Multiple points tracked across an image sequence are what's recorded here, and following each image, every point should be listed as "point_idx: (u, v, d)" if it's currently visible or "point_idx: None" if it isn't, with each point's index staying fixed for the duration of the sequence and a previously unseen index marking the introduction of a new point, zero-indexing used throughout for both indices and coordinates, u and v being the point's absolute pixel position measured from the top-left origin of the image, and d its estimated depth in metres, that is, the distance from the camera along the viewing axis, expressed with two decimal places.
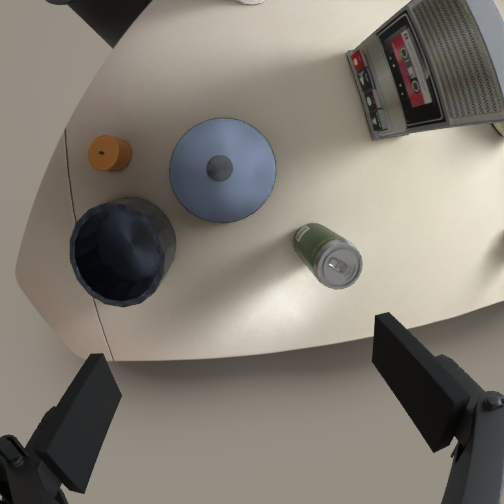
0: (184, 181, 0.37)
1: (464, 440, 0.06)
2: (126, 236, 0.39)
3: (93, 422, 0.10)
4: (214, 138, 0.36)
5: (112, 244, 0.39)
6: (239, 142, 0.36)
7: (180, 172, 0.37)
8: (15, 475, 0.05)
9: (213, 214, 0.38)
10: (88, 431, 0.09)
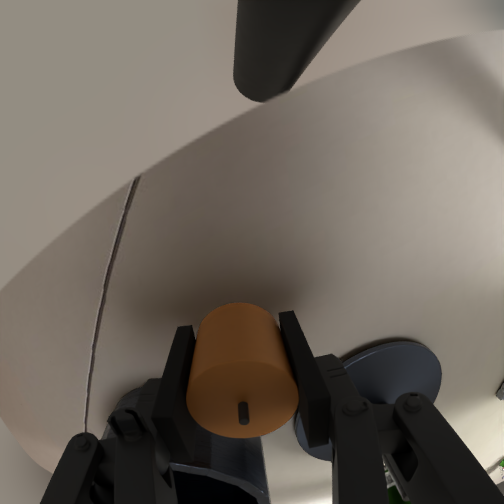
0: None
1: None
2: None
3: None
4: (398, 373, 0.20)
5: None
6: (416, 386, 0.20)
7: None
8: (126, 450, 0.07)
9: (325, 453, 0.21)
10: None
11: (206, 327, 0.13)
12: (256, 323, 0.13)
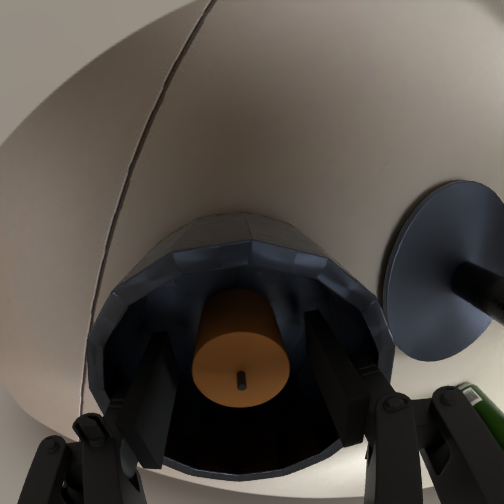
0: (415, 265, 0.17)
1: (372, 443, 0.08)
2: None
3: (164, 397, 0.11)
4: (481, 222, 0.16)
5: (190, 300, 0.17)
6: (496, 249, 0.17)
7: (419, 245, 0.16)
8: (92, 455, 0.07)
9: (412, 341, 0.18)
10: (161, 405, 0.11)
11: (209, 309, 0.15)
12: (252, 304, 0.15)
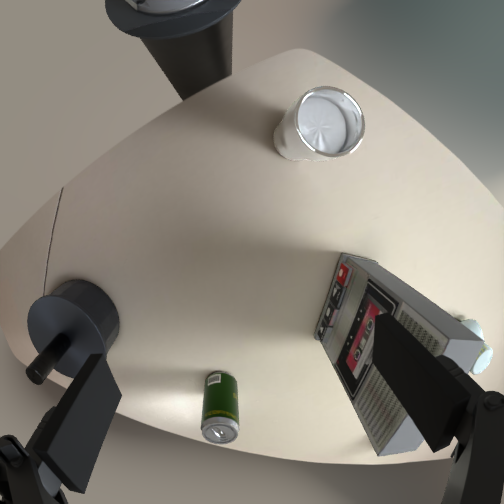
0: (36, 330, 0.34)
1: (464, 440, 0.06)
2: None
3: (93, 422, 0.10)
4: (62, 315, 0.33)
5: None
6: (80, 330, 0.34)
7: (34, 322, 0.33)
8: (15, 475, 0.05)
9: None
10: (88, 431, 0.09)
11: None
12: None
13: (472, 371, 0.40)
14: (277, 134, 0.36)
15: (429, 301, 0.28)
